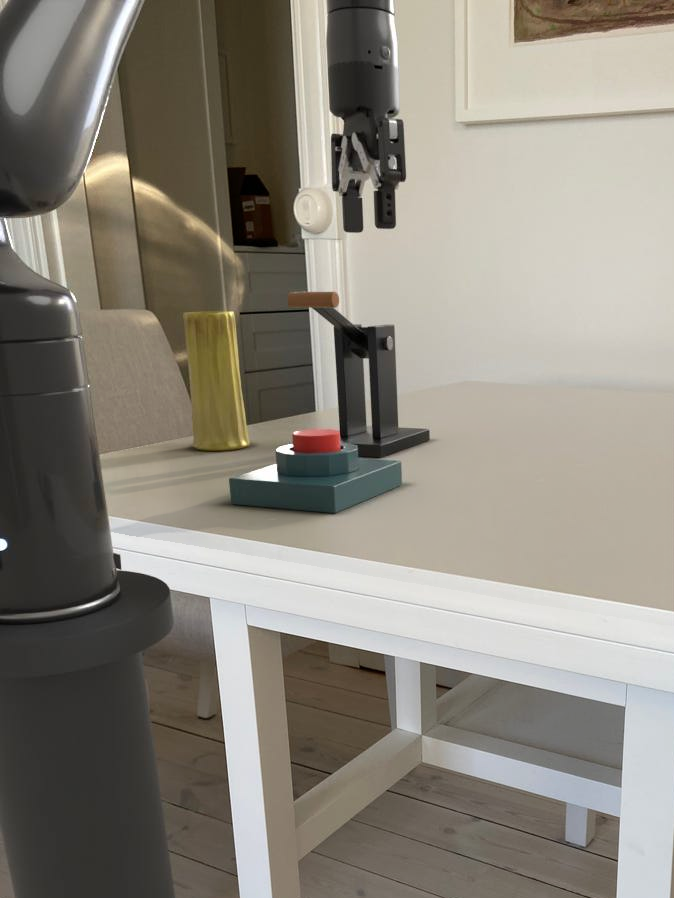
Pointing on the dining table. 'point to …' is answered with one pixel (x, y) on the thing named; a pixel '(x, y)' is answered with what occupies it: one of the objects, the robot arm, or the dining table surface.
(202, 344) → the vase
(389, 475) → the control block
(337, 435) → the button
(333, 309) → the lever
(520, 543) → the dining table surface
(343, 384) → the bracket
